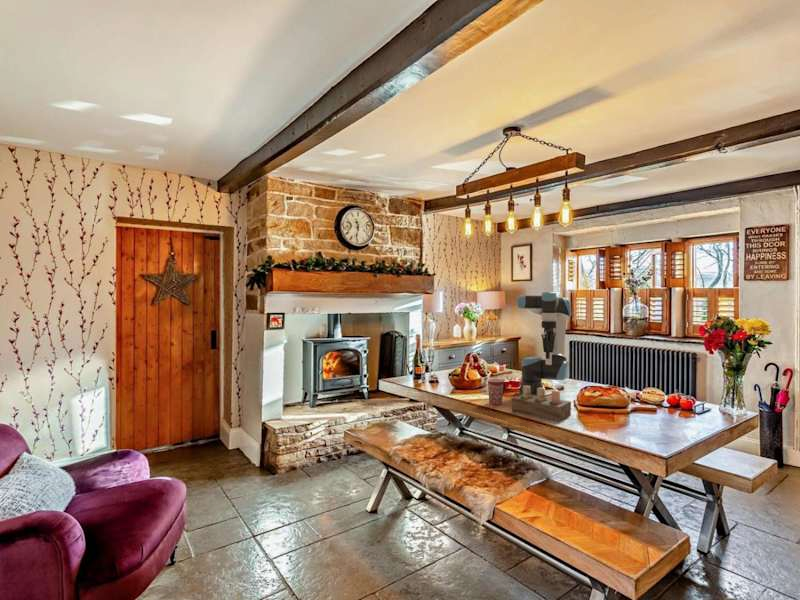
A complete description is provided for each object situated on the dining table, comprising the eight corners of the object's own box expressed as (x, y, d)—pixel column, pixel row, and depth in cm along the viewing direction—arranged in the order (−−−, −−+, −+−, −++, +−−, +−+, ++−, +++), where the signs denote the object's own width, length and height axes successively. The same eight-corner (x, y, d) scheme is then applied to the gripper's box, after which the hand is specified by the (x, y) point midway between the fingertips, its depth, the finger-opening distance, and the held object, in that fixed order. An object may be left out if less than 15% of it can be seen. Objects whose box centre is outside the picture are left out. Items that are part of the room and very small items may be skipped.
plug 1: (524, 400, 240) (524, 385, 240) (531, 401, 238) (531, 386, 237) (521, 402, 237) (521, 386, 237) (528, 403, 235) (528, 387, 234)
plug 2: (553, 405, 230) (553, 389, 229) (561, 407, 227) (561, 390, 227) (550, 407, 227) (550, 391, 226) (558, 408, 224) (558, 392, 224)
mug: (496, 406, 245) (496, 382, 245) (484, 403, 253) (484, 379, 252) (511, 403, 253) (511, 379, 252) (499, 399, 260) (499, 376, 260)
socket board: (523, 406, 246) (523, 393, 246) (570, 415, 229) (570, 401, 229) (511, 411, 236) (511, 398, 236) (559, 421, 218) (559, 407, 218)
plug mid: (538, 403, 235) (538, 387, 235) (546, 404, 232) (546, 388, 232) (535, 404, 232) (535, 388, 232) (542, 406, 229) (542, 389, 229)
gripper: (547, 319, 246) (547, 362, 246) (536, 320, 236) (536, 365, 237) (560, 320, 241) (560, 363, 241) (550, 321, 231) (550, 366, 231)
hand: (548, 364), depth 239 cm, fingers closed
